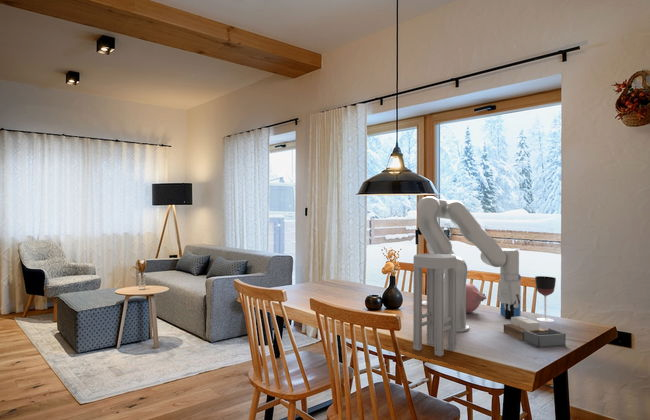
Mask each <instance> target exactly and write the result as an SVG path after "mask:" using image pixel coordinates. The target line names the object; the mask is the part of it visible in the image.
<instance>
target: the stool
mask: <svg viewBox="0 0 650 420" xmlns="http://www.w3.org/2000/svg"><path fill="white" fill-rule="evenodd" d="M456 256H457V255H456ZM456 256H454V255H448V254H430V253H417V254H415V255H413V296H412V297H413V299H412V301H413V304H412V305H413V307H412V308H413V310H412V311H413V313H412V314H413V316H412V317H413V325H412V326H413V328H412V329H413V334H412V335H413V340H412V343H413V345H412V347H413V348H412V350H416V351H421V350H422V349H423V327H425V326H426V344H427V345H430V346H433V345H434V355H435V356H438V357H443V356H444V350H445V349H444V348H445V347H444V346H445V345H444V336H445V333H444V332H446V331H447V330H448V331H447V350H448V351H455V350H457V332H456V269H457V257H456ZM423 269H426V301H427V306H426V312H424V313H423V305H422V301H423ZM444 269H448V317H446V318H444ZM425 318H426V320H425V321H423V319H425ZM447 321H448V325H447V326H444V322H447Z"/></svg>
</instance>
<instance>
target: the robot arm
mask: <svg viewBox="0 0 650 420" xmlns="http://www.w3.org/2000/svg"><path fill="white" fill-rule="evenodd" d="M416 209H417V214H416V215H417V216H416V221H417V227H418V228H419V229H418V230H419V231H420V233H421V235H422V236H423V238H424V240H425V241H426V245H425V246H426V249H427V251H428V254H448V255H454V256H456V257H457V269H456V333H463V332H469V330H470V329H471V328H470V326H469V324H467V313H466V282H467V279H468V264H467V262H466V261H465V260H464V259H463V258H461V257H460V256H457V255H456V254H455V252H454V251H453V245H452V242H451V240H450V239H449V237H448V236H447V235H446V233H445V232H444V230H443V228H442V227H441V225H440V223H439V220H438V218H439V219H446V220H447V219H448V220H450V221H451V222H452V224H453V225H454V226H455V227H456V229H457V230H458V231H459V233H460V234H461V235H462V236H463V238H464V239H465V240H467V241H468V242H469V243H471V244H473V245H474V246H475V247H476V248H477V249H478V250H479V251H480V259H481V261H482V262H483V263H484V264H485V265H488V266H491V267H494V268H500V269H499V270H500V272H499V273H500V275H499V277H500V278H499V280H498V286H497V301H499V302H500V304H501V303H502V304H503V305H504V309H505V316H504V318H505V320H510V321H511V317H514V310H515V308H519V304H520V301H522V300H521V299H522V296H521V295H522V294H521V293H522V292H521V293H520V284H519V274H520V266H519V265H520V252H519V250H518V249H517V248H501V246H500V245H499V244H498V242H496V240H495V239H494V238H493V237H492V236H491V235H490V234H489V233H488V232H487V231H486V230H485V229H484V227H482V226H481V224H480V223H479V222H478V221H477V219H476V218H475V217H474V216H473V214H472V213H471V211H470V210H469V209H468V208H467V207H466V205H465V204H464V203H463V202H461V201H460V200H446V199H439V198H436V197H435V196H430V195H428V196H423V197H422V198H420V199H419V200H418V201H417V203H416ZM446 317H448V269H444V318H446ZM447 325H448V321H447V322H444V326H447ZM446 331H447V332H448V330H446Z"/></svg>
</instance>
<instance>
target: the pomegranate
mask: <svg viewBox="0 0 650 420" xmlns="http://www.w3.org/2000/svg"><path fill="white" fill-rule="evenodd" d="M485 300H487V296H486V294H485V293H481V292H480V290H479V289H478V287H476V285H474V284H472V283H470V282H467V281H466V314H469V313H474V312H475V311H476V310H477V309H478V308H479V306H480V304H481V302H484V301H485Z"/></svg>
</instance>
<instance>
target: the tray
mask: <svg viewBox="0 0 650 420" xmlns="http://www.w3.org/2000/svg"><path fill="white" fill-rule="evenodd" d="M547 330H548V332H546V333H531V332H529V331H526V330H524V334H523V341H522V342H524V343H527V344H529V345H530V346H531V345H532V346H533V347H536V348H538V349H539V348H540V349H542V348H552V347H553V348H554V347H555V348H556V347H565V346H566V342H567V341H566V340H567V338H566V333H564V332H561V331H559V330H557V329H553V328H550V327H548V329H547Z"/></svg>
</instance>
